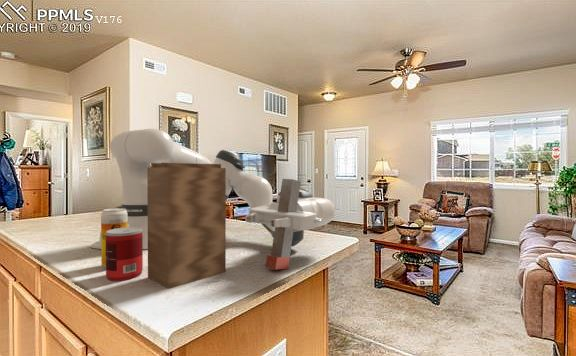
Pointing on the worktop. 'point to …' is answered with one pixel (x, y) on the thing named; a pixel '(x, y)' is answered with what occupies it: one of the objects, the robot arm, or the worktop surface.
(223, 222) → the wooden slab
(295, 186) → the metal block
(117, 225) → the beer can
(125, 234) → the canned food
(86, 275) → the worktop surface
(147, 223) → the robot arm
